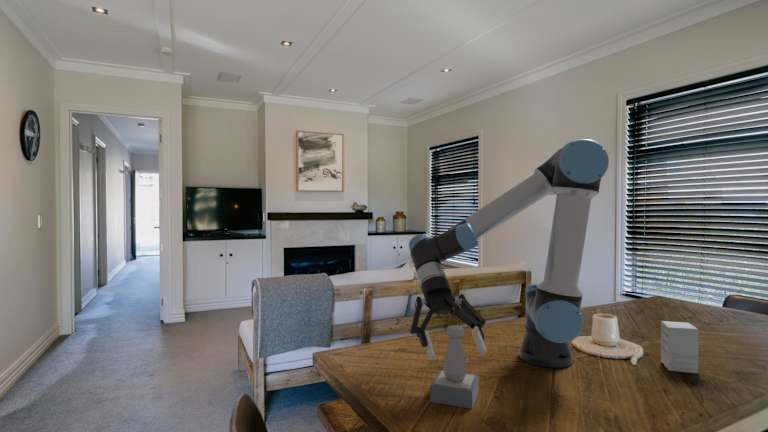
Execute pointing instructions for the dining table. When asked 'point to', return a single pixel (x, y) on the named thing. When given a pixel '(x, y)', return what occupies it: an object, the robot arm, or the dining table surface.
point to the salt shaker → (455, 355)
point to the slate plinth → (454, 390)
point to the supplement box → (679, 346)
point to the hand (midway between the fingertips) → (458, 355)
